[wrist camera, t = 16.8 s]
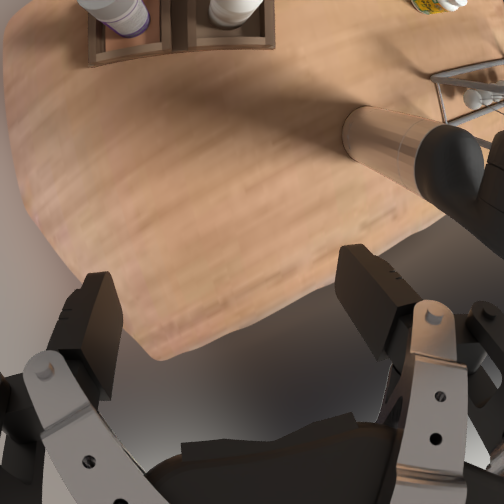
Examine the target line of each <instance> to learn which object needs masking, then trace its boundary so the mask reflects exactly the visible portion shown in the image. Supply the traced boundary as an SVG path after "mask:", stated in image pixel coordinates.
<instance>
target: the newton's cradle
mask: <svg viewBox="0 0 504 504" xmlns="http://www.w3.org/2000/svg"><path fill="white" fill-rule="evenodd" d="M503 64H504V59H502V60H496V61H491V62H486V63H481V64H476V65H471V66H467V67H462V68H458V69H454V70H450V71H446V72H442V73H438V74H434V75H432V76H431V78H430V79H431V81H432V82H434V83H437V87H438V91H439V95H440V99H441V104H442V108H443V113H444V118H445V124H449V125H452V126H458V125H460V124H462V123H465V122H467V121H470V120H472V119H475V118H477V117H480V116H482V115H485V114H487V113H490V112H492V111H497V109H500V108H502V107H504V101H503V102H498V101H500V100H501V99H504V81H503V80H500V81H498V82H497V83H496V84H495V83H490V84H487V83H481V82H475V81H469V80H462V79H454V78H447V77H451V76H455V75H459V74H463V73H467V72H471V71H475V70H479V69H484V68H488V67H493V66H498V65H503ZM439 83H441V84H448V85H455V86H462V87H468V88H474V89H476V90H473V89H469V90H467V91H466V92H465V93H464V95H463V100H464V103H465V104H466V106H467V107H468V108H470V109H473V110H476V109H479V108H480V107H481V105H485V106H487V105H489V104H491V103H492V101H494V102H498V104H495V105H492V106H490V107H489V106H487V108H484V109H482V110H479V111H477V112H474V113H471V114H469V115H466V116H464V117H461V118H459V119H456V120H454V121H451V122H449V123H447V118H446V113H445V108H444V104H443V99H442V95H441V90H440V86H439ZM497 112H499V111H497ZM499 113H501V112H499ZM501 114H503V113H501ZM503 115H504V114H503ZM475 139H476V140H477V142H478V143H479V145H480V146H482V147H484V148H487V149H490V148H491V145H492V143H491V142H488V141H485V140H482V139H480V138H477V137H475Z"/></svg>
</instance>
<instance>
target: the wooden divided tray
mask: <svg viewBox="0 0 504 504" xmlns="http://www.w3.org/2000/svg"><path fill="white" fill-rule="evenodd" d="M142 1H143V3H144V4H145V6H146V8H147V10H148V12H149V14H150V17H151V21H150V25H149V27H148V28H147V30H146V31H145V32H144V33H143V34H141V35H140V36H138V37H135V38H124V37H121V36H120V35H118V34H117V33H115V32H114V31H113V30H111V29H110V28H109V27H107V26H106V25H104V24H103V23H102V22H100V21H99V20H97V19H96V18H95V17H94V16H93V15H91V14H90V13H89V12H88V61H89V67H92V68H93V67H97V66H101V65H106V64H110V63H115V62H120V61H126V60H131V59H137V58H143V57H150V56H157V55H164V54H173V53H182V52H194V51H209V50H235V49H260V50H273V49H275V10H274V0H142Z"/></svg>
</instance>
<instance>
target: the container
mask: <svg viewBox="0 0 504 504" xmlns="http://www.w3.org/2000/svg"><path fill="white" fill-rule="evenodd" d="M77 2H78V3H79V5H80V6H82V7H83V8H84V9H85V10H86V11H88V12H89V13H90V14H91V15H93V16H94V17H95V18H96V19H97V20H99V21H100V22H102V23H103V24H104V25H106V26H107V27H109V28H110V29H111V30H113V31H114V32H115V33H117V34H118V35H120V36H121V37H124V38H135V37H138V36H140V35H141V34H143V33H144V32H145V31H146V30H147V28H148V27H149V25H150V21H151V17H150V14H149V12H148V10H147V8H146V6H145V4H144V3H143V1H142V0H77Z"/></svg>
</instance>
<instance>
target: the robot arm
mask: <svg viewBox="0 0 504 504" xmlns="http://www.w3.org/2000/svg"><path fill="white" fill-rule="evenodd" d="M342 140H343V145H344V147H345V150H346V152H347V153H348V154H349V156H350V157H352V158H353V159H354V160H356V161H358V162H360V163H361V164H363V165H365V166H367V167H369V168H371V169H372V170H374V171H376V172H378V173H380V174H382V175H383V176H385V177H387V178H389V179H391V180H392V181H394V182H396V183H398V184H399V185H401V186H403V187H405V188H406V189H408V190H410V191H412V192H413V193H415V194H417V195H418V196H420V197H422V198H423V199H425V200H427V201H428V202H430V203H431V204H433V205H434V206H435V207H437V208H438V209H439V210H441V211H442V212H444V213H445V214H447V215H448V216H450V217H451V218H452V219H454V220H455V221H456V222H458V223H459V224H460V225H462V226H463V227H464V228H465V229H467V230H468V231H469V232H470V233H471V234H473V235H474V236H475V237H476V238H477V239H478V240H480V241H481V242H482V243H483V244H484V245H485V246H487V247H488V248H489V249H490V250H492V251H493V252H494V253H495V254H496V255H498V256H499V257H500V258H502V259H504V130H503V131H500V132H498V133H497V134H496V135H495V137H494V139H493V142H492V145H491V148H490V152H489V155H488V159H487V163H488V164H486V166H485V170H484V159H483V154H482V150H481V148H480V145H479V143H478V142H477V140H476V139H475V137H474V136H473V135H472V134H470V133H469V132H468V131H466V130H464V129H462V128H459V127H456V126H452V125H449V124H445V123H442V122H438V121H434V120H430V119H426V118H422V117H418V116H414V115H410V114H405V113H401V112H396V111H391V110H387V109H382V108H376V107H370V106H365V107H360V108H358V109H356V110H354V111H353V112H352V113H351V114H350V115H349V116H348V118H347V119H346V121H345V123H344V126H343V131H342ZM335 292H336V295H337V298H338V299H339V301H340V303H341V304H342V306H343V307H344V309H345V311H346V312H347V313H348V315H349V317H350V318H351V320H352V322H353V323H354V325H355V326H356V328H357V330H358V331H359V333H360V334H361V336H362V337H363V339H364V341H365V342H366V344H367V346H368V347H369V349H370V350H371V352H372V354H373V355H374V357H375V359H376V360H377V362H378V361H382V360H385V359H389V358H390V359H391V361H392V364H391V366H390V369H389V374H388V379H387V383H386V388H385V392H384V397H383V401H382V405H381V409H380V413H379V415H378V418H377V420H376V422H375V423H372V422H356V420H355V418H354V416H353V413H352V412H349V413H346V414H343V415H339V416H335V417H332V418H328V419H324V420H321V421H317V422H313V423H311V424H309V425H307V426H305V427H303V428H301V429H299V430H297V431H295V432H293V433H291V434H288V435H286V436H284V437H282V438H280V439H278V440H275V441H270V442H265V441H263V442H262V441H245V440H231V439H219V440H210V441H199V442H188V443H187V442H186V443H181V452H182V454H179V455H176V456H173V457H171V458H169V459H166V460H164V461H163V462H161V463H159V464H157V465H156V466H155V467H153V468H152V469H150V470H149V471H148V472H146V471H145V470H144V469H143V468H142V467H141V465H140V464H139V463H138V462H137V461H136V460H135V459H134V457H133V456H132V455H131V454H130V453H129V451H128V450H127V449H126V448H125V446H124V445H123V444H122V443H121V441H120V440H119V439H118V437H117V436H116V435H115V433H114V432H113V431H112V429H111V428H110V427H109V425H108V424H107V422H106V421H105V420H104V418H103V417H102V415H101V414H100V412H99V411H98V405H99V401H111V397H112V389H113V382H114V375H115V368H116V361H117V355H118V349H119V343H120V338H121V332H122V327H123V312H122V308H121V305H120V302H119V299H118V295H117V292H116V289H115V286H114V283H113V279H112V276H111V274H110V273H109V272H108V271H106V272H97V273H88V274H87V276H86V278H85V280H84V282H83V285H82V287H81V289H76V290H75V291H74V292H73V293H72V294H71V295H70V296H69V297H68V298H67V300H66V302H65V304H64V307H63V309H62V312H61V313H60V316H59V320H58V321H57V323H56V325H55V328H54V330H53V333H52V336H51V338H50V341H49V343H48V346H47V349H46V351H42V352H40V353H38V354H36V355H34V356H33V357H32V358H31V359H30V360H29V361H28V362H27V364H26V365H25V368H24V370H23V373H20V374H16V375H12V376H9V377H5V378H4V376H3V375H2V374H1V372H0V436H1V431H3V432H4V433H6V440H5V446H4V451H3V458H2V465H0V504H42V483H43V468H44V467H43V466H44V456H45V448H46V450H47V452H48V454H49V456H50V458H51V460H52V462H53V464H54V465H55V467H56V469H57V471H58V473H59V474H60V476H61V478H62V480H63V482H64V483H65V485H66V487H67V488H68V490H69V491H70V493H71V495H72V496H73V498H74V499H75V501H76V503H77V504H504V314H503V313H502V311H501V310H500V309H499V308H498V307H496V306H495V305H493V304H491V303H489V302H486V301H477V302H475V303H474V304H473V305H472V307H471V310H470V312H469V314H453V313H452V312H451V310H450V309H448V307H446V306H445V305H443V304H442V303H439V302H437V301H432V300H423V299H422V298H421V297H420V296H419V295H418V294H417V293H416V292H415V291H414V290H413V289H412V288H411V286H410V285H409V284H408V283H407V282H406V281H405V280H404V279H402V277H401V276H400V275H399V274H398V273H397V272H395V270H394V268H393V267H392V266H391V265H390V264H389V263H388V262H387V261H385V260H383V259H381V258H379V257H378V256H376V255H373V254H372V253H371V252H370V251H369V250H368V249H367V248H366V247H365V246H364V245H363V244H354V245H345V246H342V247H341V248H340V251H339V257H338V264H337V271H336V277H335ZM487 354H488V355H489V356H490V358H491V359H492V360H493V362H494V363H495V365H496V366H497V367H498V369H499V370H500V372H501V374H502V383H501V386H500V387H499V388H498V389H497V388H496V386H495V385H494V383H493V382H492V380H491V379H490V377H489V376H488V374H487V373H486V372H485V370H484V369H483V367H482V366H481V363H482V361H483V360H484V358H485V357H486V355H487ZM467 414H468V416H469V418H470V419H471V421H472V423H473V425H474V427H475V428H476V430H477V432H478V434H479V436H480V438H481V439H482V441H483V443H484V445H485V447H486V449H487V451H488V453H489V455H490V464H488V465H487V467H486V470H484V469H482V468H479V467H477V466H474V465H472V464H469V463H467V462H465V461H464V457H465V447H466V434H467V433H466V432H467Z"/></svg>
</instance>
